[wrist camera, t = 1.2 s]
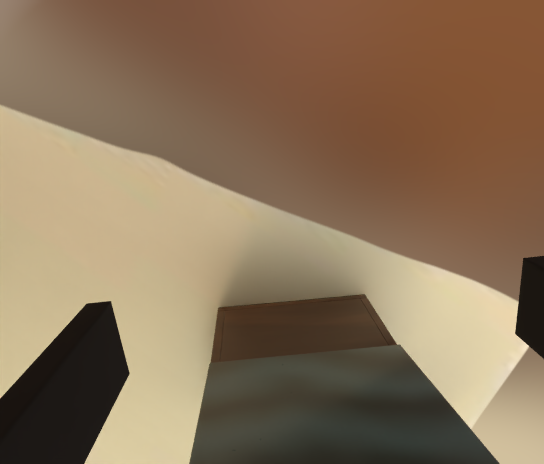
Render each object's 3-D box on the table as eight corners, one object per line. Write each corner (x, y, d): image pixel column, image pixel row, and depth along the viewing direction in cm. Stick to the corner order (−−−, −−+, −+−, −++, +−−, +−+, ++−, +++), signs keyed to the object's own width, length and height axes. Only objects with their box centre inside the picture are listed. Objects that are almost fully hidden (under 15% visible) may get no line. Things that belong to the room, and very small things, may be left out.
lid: (510, 490, 19) (511, 477, 19) (180, 528, 18) (178, 514, 18) (400, 352, 33) (400, 344, 33) (210, 371, 33) (209, 362, 32)
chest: (363, 392, 47) (392, 461, 38) (230, 406, 47) (226, 480, 37) (365, 294, 43) (398, 345, 34) (218, 307, 42) (210, 363, 33)
